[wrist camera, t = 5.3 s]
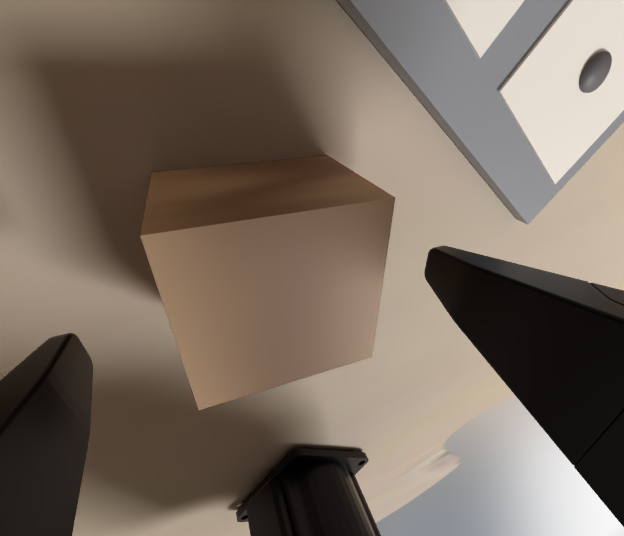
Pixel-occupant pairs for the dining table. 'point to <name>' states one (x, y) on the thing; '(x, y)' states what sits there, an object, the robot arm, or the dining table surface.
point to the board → (509, 82)
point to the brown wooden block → (267, 269)
